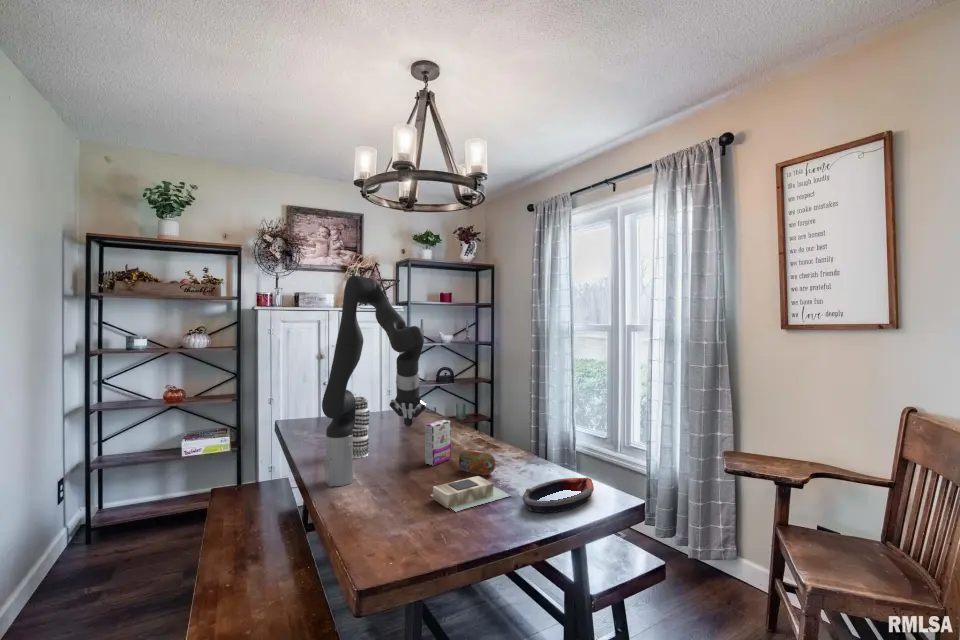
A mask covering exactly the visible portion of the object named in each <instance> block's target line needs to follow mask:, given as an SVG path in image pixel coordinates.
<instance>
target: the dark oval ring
mask: <svg viewBox="0 0 960 640" xmlns="http://www.w3.org/2000/svg"><path fill="white" fill-rule="evenodd" d="M563 490H571V491H581V493H579V494H577V495H574V496H571V497H567V498H563V499H558V500H550V501H537V500H539V499H540V498H542V497H545V496H547V495H550V494H553V493H556V492H559V491H563ZM594 490H595V487H594V483H593V479H592V478H590V477H569V478H568V477H567V478H558V479H553V480H550V481H546V482H543V483H540V484H538V485H535V486H533V487H531V488H530V487H529V488H526V489H525V491H524V493H523V495H522V502H523V503H524V506H525V507H526V508H527V509H528V510H530V511H531V512H537V513H555V511H557V512H563V511H567V510H570V509H573V508H576V507H577V506H580V505H582V504H584V503H586V502H587V501H588V500H589V499H590V498H591V496H592V494H593V492H594ZM566 509H567V510H566ZM562 510H563V511H562Z"/></svg>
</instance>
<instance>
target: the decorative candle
mask: <svg viewBox="0 0 960 640" xmlns="http://www.w3.org/2000/svg"><path fill="white" fill-rule="evenodd" d="M354 397H355V402H356V413H355V425H354V428H353V459H362V458H361V457H364V458H367V457H368V456H369V455H368V454H370V453H369V452H370V450H369V448H370V446H369V443H370V442H369V440H370V439H369V434H368V433H369V432H368V429H369V425H370V423H369V421H370V418H368V417H370V414H369V413H370V412H371V411H370V410H369V407H368V402H369V400H368V399H367V398H366V397H365V396H354ZM366 456H367V457H366Z"/></svg>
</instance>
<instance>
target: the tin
mask: <svg viewBox="0 0 960 640" xmlns="http://www.w3.org/2000/svg"><path fill="white" fill-rule="evenodd" d="M458 464H459V467H460V468H461V470H462V471H463V472H465V471H467V472H466V473H468V472H472V473H471V474H474V473H478V474H477V475H479V474H483V475H482V476H488V475H491V473H493V472H494V470H495V469H496V460H495V457H494V455H492V454H491V453H490V452H486V451H482V450H481V451H479V450H474V449H473V450H472V449H468V450H464V451H462V452H461V453H460V455H459V457H458Z"/></svg>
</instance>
